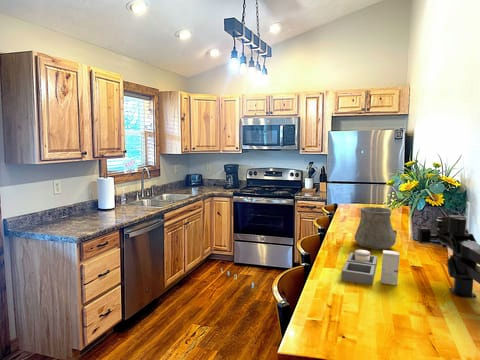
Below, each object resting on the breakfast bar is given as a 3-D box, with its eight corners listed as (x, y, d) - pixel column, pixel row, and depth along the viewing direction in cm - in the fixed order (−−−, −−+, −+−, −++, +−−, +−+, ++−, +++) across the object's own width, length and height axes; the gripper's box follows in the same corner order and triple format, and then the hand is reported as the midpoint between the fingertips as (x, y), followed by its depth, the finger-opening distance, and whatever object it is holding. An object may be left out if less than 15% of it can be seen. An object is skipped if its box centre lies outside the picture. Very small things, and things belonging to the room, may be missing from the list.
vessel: (375, 239, 200) (377, 203, 197) (405, 250, 179) (407, 211, 176) (342, 242, 193) (343, 206, 191) (368, 255, 172) (370, 214, 170)
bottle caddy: (376, 264, 159) (377, 250, 158) (372, 285, 137) (373, 268, 136) (350, 261, 163) (350, 246, 163) (341, 280, 141) (342, 263, 140)
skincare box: (380, 283, 138) (382, 253, 137) (380, 279, 143) (382, 249, 141) (398, 285, 136) (399, 254, 135) (397, 281, 140) (399, 251, 139)
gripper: (478, 221, 135) (457, 212, 151) (427, 220, 137) (411, 212, 152) (476, 249, 137) (455, 238, 152) (426, 248, 138) (410, 237, 153)
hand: (433, 230), depth 152 cm, fingers open, 9 cm apart
